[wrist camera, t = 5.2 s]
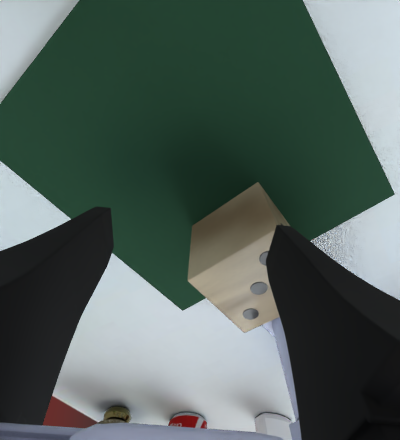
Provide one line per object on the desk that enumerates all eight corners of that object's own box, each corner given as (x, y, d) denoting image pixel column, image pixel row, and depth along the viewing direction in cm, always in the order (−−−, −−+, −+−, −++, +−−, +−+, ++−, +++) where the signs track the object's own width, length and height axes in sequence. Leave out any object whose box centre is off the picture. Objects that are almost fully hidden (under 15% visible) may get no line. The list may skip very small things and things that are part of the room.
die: (258, 180, 18) (299, 237, 21) (191, 225, 20) (235, 272, 23) (279, 227, 13) (330, 295, 15) (186, 281, 15) (244, 334, 17)
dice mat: (391, 192, 19) (395, 194, 19) (182, 307, 26) (182, 310, 25) (216, -173, 11) (217, -181, 10) (-23, 137, 17) (-27, 138, 17)
